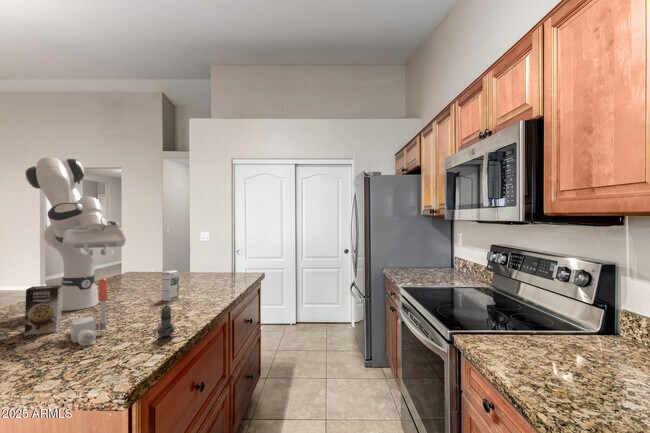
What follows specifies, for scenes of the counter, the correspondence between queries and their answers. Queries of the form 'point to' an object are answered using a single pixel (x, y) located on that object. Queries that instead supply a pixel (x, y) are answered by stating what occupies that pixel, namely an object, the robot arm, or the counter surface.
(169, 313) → the grey chess pawn
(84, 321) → the valve
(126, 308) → the counter surface
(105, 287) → the lever
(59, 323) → the cookie box
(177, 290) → the syrup box
